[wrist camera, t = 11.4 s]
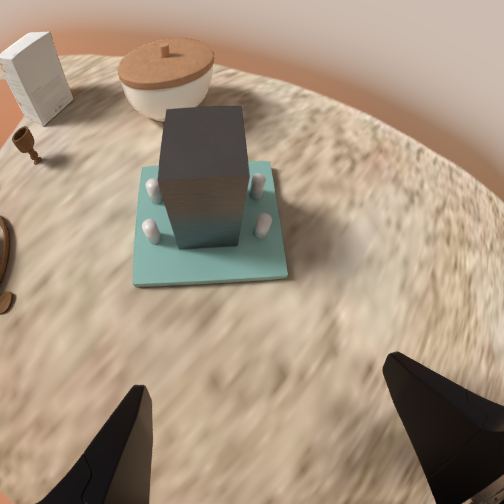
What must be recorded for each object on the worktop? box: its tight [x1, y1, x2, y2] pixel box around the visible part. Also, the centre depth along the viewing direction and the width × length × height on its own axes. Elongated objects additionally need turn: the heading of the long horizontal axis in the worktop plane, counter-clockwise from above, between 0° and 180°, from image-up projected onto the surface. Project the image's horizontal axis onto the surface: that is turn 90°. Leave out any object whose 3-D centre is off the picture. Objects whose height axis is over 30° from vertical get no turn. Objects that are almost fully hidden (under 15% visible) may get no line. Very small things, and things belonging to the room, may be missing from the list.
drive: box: [157, 106, 250, 250], centre depth 20 cm, size 6×5×10 cm
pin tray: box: [133, 161, 288, 287], centre depth 24 cm, size 12×13×4 cm
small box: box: [0, 32, 74, 126], centre depth 24 cm, size 8×6×13 cm
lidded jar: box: [118, 38, 214, 122], centre depth 27 cm, size 11×11×9 cm
